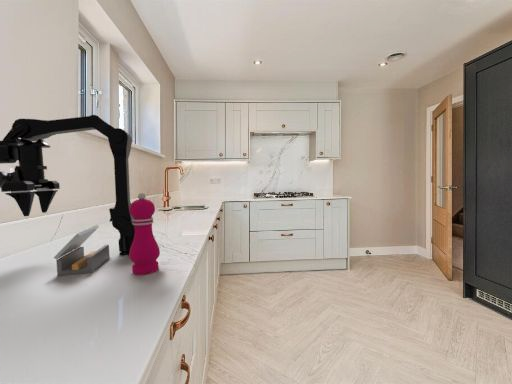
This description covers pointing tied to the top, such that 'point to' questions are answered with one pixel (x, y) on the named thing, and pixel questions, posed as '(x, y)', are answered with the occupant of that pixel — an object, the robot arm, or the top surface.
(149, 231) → the pepper mill
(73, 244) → the lid
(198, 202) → the top surface
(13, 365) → the top surface
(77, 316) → the top surface
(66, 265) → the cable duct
